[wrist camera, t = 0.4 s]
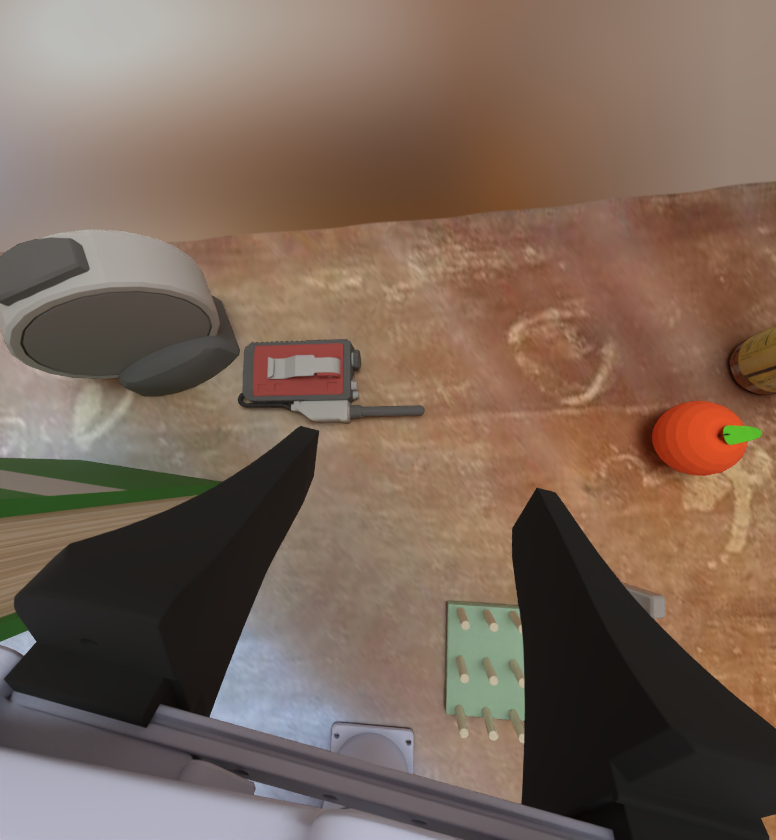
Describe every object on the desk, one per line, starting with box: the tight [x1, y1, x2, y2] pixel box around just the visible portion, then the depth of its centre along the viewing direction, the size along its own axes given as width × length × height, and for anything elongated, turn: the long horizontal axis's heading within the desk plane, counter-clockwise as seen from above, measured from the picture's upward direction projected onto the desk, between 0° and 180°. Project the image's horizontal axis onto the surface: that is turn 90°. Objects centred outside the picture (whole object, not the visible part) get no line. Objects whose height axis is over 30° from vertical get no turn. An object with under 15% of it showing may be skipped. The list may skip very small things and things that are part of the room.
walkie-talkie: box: [238, 339, 425, 423], centre depth 41 cm, size 9×4×20 cm
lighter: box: [621, 582, 665, 619], centre depth 34 cm, size 7×2×8 cm, turn 86°
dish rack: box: [445, 601, 525, 744], centre depth 36 cm, size 10×10×4 cm
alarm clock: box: [0, 229, 240, 396], centre depth 36 cm, size 16×10×18 cm, turn 113°
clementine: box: [652, 401, 762, 476], centre depth 36 cm, size 8×7×7 cm
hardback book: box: [0, 458, 221, 642], centre depth 31 cm, size 18×7×24 cm, turn 82°
